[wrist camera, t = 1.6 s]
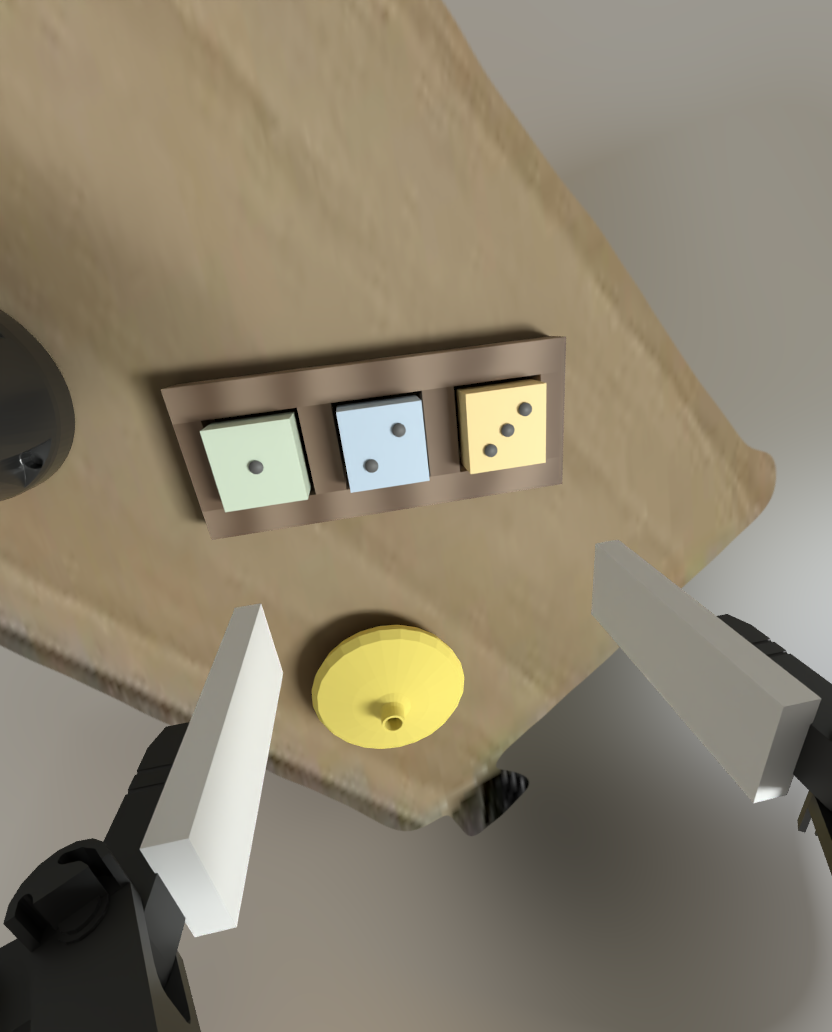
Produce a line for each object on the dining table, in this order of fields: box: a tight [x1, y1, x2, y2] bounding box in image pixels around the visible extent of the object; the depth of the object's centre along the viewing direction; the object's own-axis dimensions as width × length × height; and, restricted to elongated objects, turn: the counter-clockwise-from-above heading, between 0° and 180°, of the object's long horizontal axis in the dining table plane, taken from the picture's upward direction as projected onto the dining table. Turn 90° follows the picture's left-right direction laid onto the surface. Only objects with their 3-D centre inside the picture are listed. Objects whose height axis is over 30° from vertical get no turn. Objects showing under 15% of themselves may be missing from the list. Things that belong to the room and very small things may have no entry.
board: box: [161, 336, 566, 540], centre depth 36 cm, size 30×12×3 cm, turn 97°
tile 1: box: [200, 411, 311, 512], centre depth 33 cm, size 6×6×3 cm
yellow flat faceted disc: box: [312, 625, 464, 749], centre depth 45 cm, size 16×16×7 cm
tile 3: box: [456, 379, 546, 474], centre depth 35 cm, size 6×6×3 cm
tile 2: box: [336, 395, 430, 493], centre depth 34 cm, size 6×6×3 cm
